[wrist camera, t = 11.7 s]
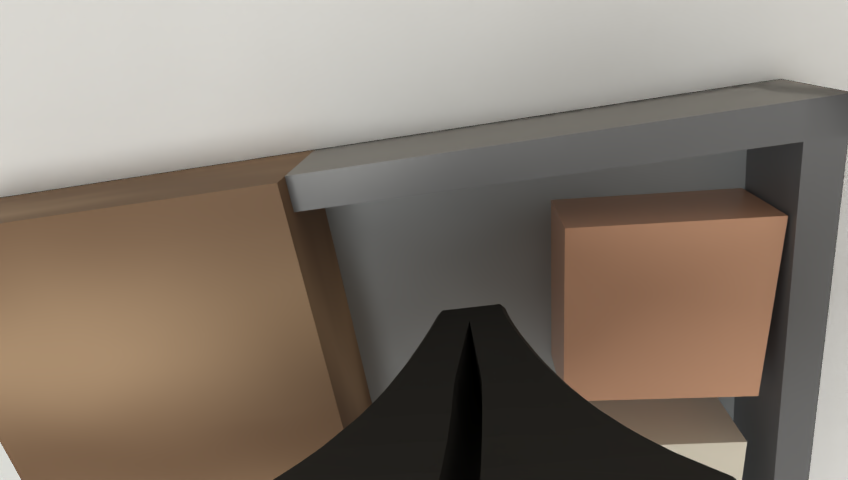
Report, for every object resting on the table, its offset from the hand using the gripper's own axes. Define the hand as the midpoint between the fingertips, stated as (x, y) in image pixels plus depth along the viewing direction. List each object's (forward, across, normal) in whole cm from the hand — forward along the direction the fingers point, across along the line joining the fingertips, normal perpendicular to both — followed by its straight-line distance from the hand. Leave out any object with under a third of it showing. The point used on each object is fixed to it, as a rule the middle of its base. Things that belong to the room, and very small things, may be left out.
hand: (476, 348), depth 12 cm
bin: (+3, -2, +3) cm, 5 cm away
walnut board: (+3, +8, +3) cm, 9 cm away
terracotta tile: (+1, -4, 0) cm, 4 cm away
